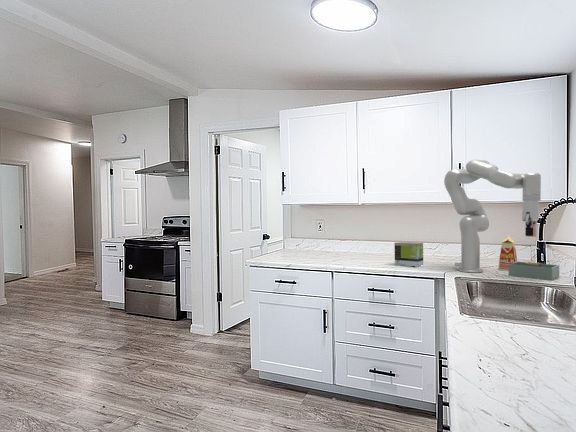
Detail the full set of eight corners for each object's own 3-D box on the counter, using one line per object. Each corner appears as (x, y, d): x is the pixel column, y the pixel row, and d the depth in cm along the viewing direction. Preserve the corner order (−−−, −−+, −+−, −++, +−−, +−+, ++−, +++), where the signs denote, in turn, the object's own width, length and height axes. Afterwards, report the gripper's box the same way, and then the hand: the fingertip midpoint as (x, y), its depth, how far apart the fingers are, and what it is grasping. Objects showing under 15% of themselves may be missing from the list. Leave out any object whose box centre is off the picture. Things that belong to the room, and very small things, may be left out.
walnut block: (528, 273, 208) (528, 262, 208) (541, 274, 203) (541, 263, 203) (524, 274, 204) (525, 263, 204) (538, 276, 199) (538, 264, 199)
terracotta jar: (524, 236, 191) (524, 224, 191) (527, 235, 194) (527, 223, 194) (534, 236, 188) (534, 224, 188) (537, 236, 191) (537, 224, 191)
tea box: (423, 265, 243) (423, 242, 243) (416, 267, 236) (416, 243, 236) (401, 263, 254) (401, 241, 253) (394, 265, 246) (394, 242, 246)
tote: (508, 275, 206) (508, 264, 206) (517, 272, 215) (517, 261, 215) (552, 280, 192) (552, 268, 192) (559, 276, 201) (559, 265, 201)
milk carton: (501, 268, 230) (501, 234, 229) (518, 269, 224) (519, 235, 224) (497, 270, 223) (497, 235, 222) (516, 271, 217) (516, 236, 217)
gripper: (528, 198, 199) (527, 234, 199) (517, 198, 187) (516, 236, 188) (545, 198, 193) (544, 234, 194) (534, 198, 182) (534, 237, 182)
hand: (530, 235), depth 191 cm, fingers closed on terracotta jar, 4 cm apart
